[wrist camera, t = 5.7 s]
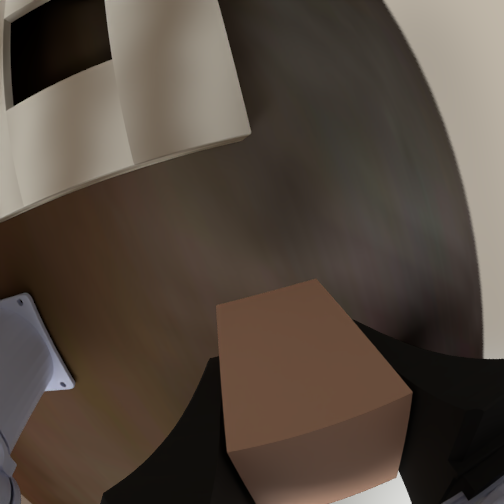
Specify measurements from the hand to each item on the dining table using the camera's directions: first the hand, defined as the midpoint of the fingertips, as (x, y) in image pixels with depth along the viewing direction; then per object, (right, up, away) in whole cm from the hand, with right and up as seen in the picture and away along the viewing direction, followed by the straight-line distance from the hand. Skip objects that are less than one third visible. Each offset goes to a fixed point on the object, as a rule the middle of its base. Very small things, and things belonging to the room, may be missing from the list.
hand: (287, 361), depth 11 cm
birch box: (-11, +15, +3) cm, 19 cm away
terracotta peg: (0, +1, +2) cm, 2 cm away
